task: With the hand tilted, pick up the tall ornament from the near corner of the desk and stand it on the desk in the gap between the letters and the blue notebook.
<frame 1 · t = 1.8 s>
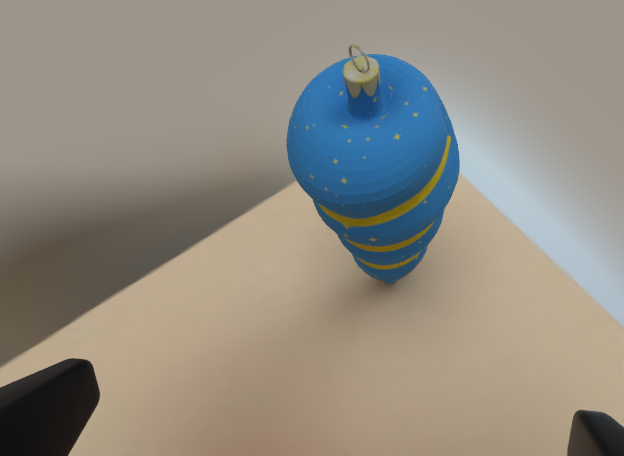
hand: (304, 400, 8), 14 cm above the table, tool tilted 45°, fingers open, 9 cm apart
ornament: (387, 277, 24), on the table
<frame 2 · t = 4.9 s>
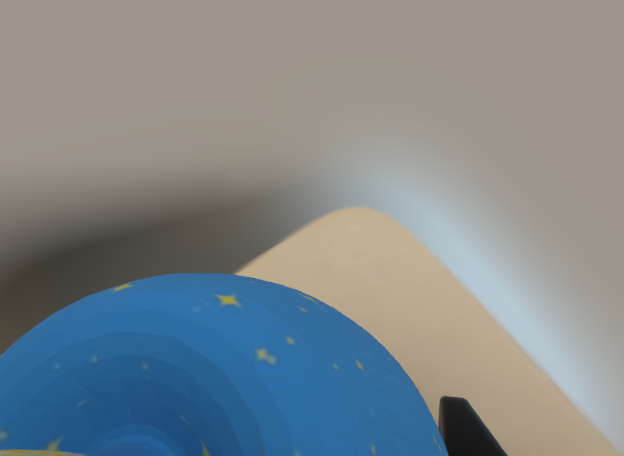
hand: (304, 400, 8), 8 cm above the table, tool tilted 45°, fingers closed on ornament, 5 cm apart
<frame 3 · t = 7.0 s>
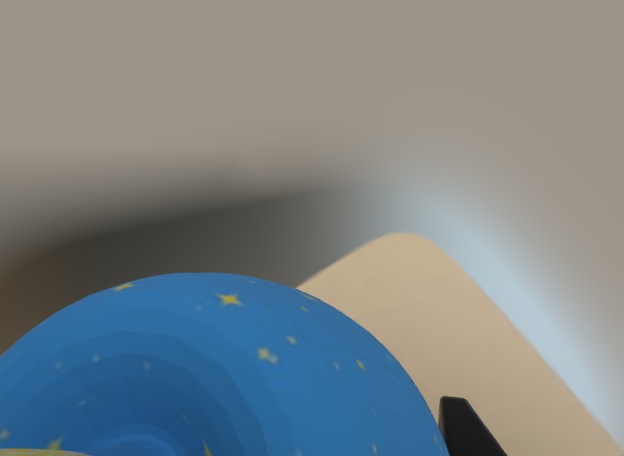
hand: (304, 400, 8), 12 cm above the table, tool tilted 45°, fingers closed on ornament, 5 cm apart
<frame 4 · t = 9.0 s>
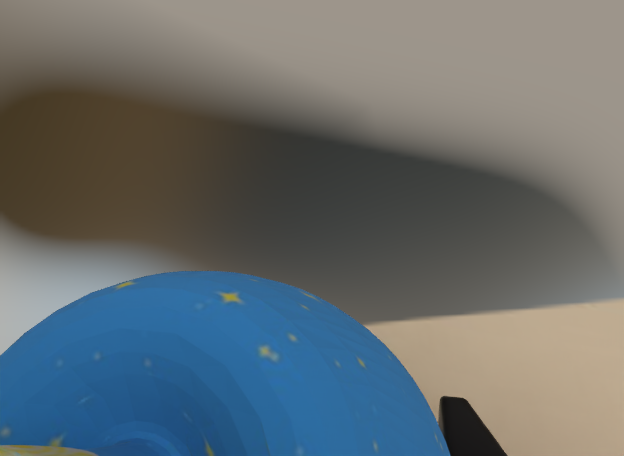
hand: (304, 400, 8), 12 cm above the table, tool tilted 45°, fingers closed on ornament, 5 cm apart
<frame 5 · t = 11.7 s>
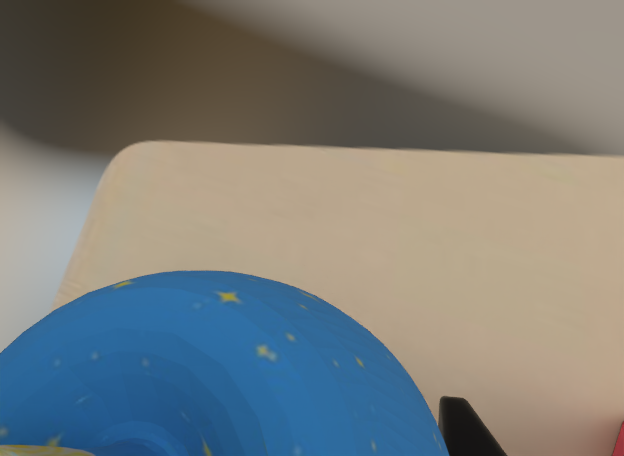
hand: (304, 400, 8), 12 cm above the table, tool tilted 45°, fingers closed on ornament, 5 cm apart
when the fingers open (8 cm above the table, at t = 13.5 s): ornament stays where it is, on the table.
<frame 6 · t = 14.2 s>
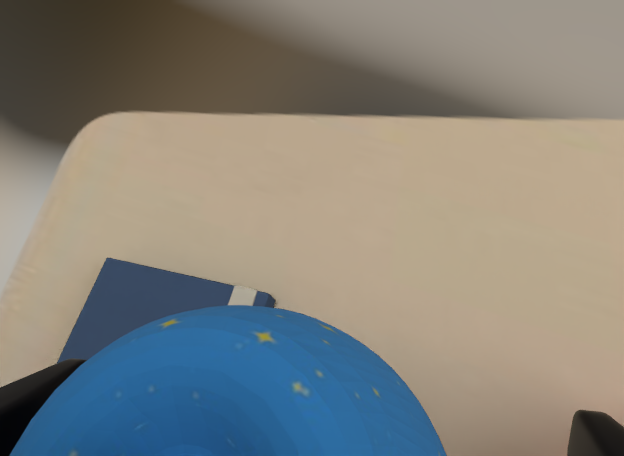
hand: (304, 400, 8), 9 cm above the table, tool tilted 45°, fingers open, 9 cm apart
blue notebook: (148, 397, 18), on the table
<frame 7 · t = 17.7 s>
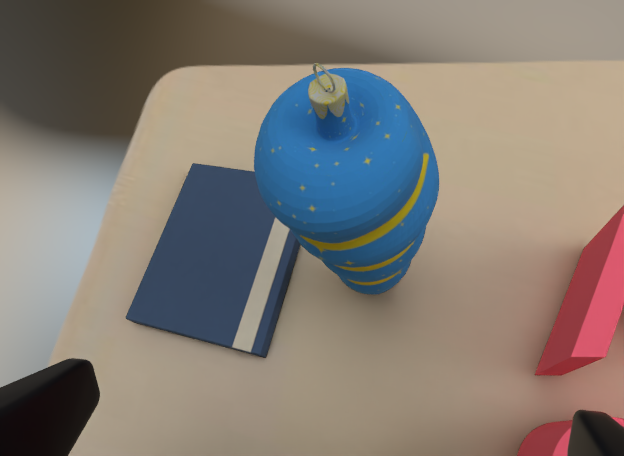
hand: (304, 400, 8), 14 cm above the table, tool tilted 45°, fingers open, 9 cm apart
blue notebook: (228, 253, 25), on the table
ornament: (374, 286, 23), on the table
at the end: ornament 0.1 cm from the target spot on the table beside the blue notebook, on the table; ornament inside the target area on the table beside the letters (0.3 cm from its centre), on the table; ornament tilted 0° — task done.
